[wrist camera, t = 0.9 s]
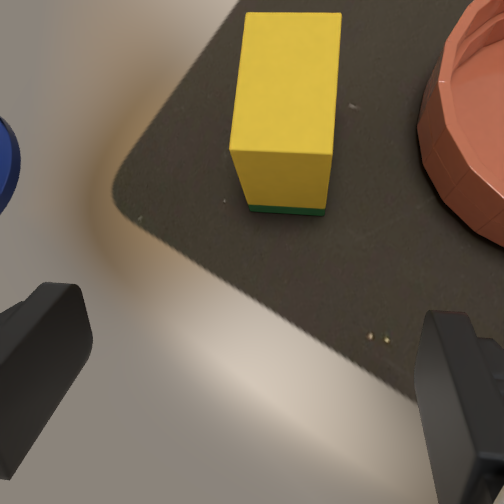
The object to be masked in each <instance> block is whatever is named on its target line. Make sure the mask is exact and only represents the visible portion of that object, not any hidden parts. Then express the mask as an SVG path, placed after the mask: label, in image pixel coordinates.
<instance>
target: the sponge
mask: <svg viewBox="0 0 504 504" xmlns="http://www.w3.org/2000/svg"><path fill="white" fill-rule="evenodd" d="M341 20H342V14H341V13H246V16H245V24H244V32H243V40H242V48H241V56H240V64H239V72H238V80H237V88H236V96H235V104H234V112H233V120H232V128H231V136H230V144H229V150H230V153H231V156H232V159H233V162H234V165H235V168H236V171H237V174H238V177H239V180H240V183H241V186H242V189H243V192H244V195H245V198H246V201H247V203H248V206H249V209H250V211H253V212H269V213H285V214H302V215H318V216H324V214H325V207H326V200H327V192H328V185H329V177H330V170H331V162H332V155H333V141H334V126H335V111H336V96H337V81H338V65H339V50H340V35H341Z"/></svg>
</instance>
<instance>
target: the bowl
mask: <svg viewBox="0 0 504 504" xmlns="http://www.w3.org/2000/svg"><path fill="white" fill-rule="evenodd" d="M417 131H418V137H419V143H420V149H421V155H422V161H423V165H424V167H425V169H426V171H427V173H428V175H429V177H430V178H431V180H432V182H433V184H434V186H435V188H436V189H437V191H438V193H439V195H440V197H441V199H442V200H443V202H444V203H445V204H446V205H447V206H448V207H449V208H450V209H452V210H453V211H454V212H455V213H456V214H457V215H458V216H459V217H460V218H461V219H462V220H463V221H464V222H465V223H466V224H467V225H468V226H469V227H470V228H471V229H472V230H473V231H474V232H476V233H477V234H479V235H481V236H483V237H485V238H487V239H489V240H491V241H493V242H495V243H497V244H499V245H500V246H502V247H504V0H474V1H473V2H472V3H471V4H469V6H468V7H467V8H466V10H465V11H464V13H463V14H462V16H461V17H460V19H459V21H458V22H457V24H456V25H455V27H454V29H453V30H452V32H451V33H450V35H449V37H448V38H447V40H446V42H445V44H444V47H443V49H442V51H441V53H440V56H439V58H438V60H437V63H436V65H435V67H434V70H433V72H432V74H431V77H430V79H429V81H428V83H427V86H426V88H425V91H424V94H423V99H422V104H421V109H420V114H419V119H418V124H417Z"/></svg>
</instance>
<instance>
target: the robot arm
mask: <svg viewBox="0 0 504 504" xmlns="http://www.w3.org/2000/svg"><path fill="white" fill-rule="evenodd" d="M92 343H93V336H92V331H91V327H90V323H89V319H88V315H87V311H86V307H85V303H84V299H83V295H82V291H81V289H80V288H79V286H78V285H76V284H66V283H52V282H45V283H42V284H41V285H39V286H38V287H37V289H36V290H35V291H34V292H33V293H32V294H31V295H30V296H29V297H28V298H27V299H26V300H25V301H21V302H19V303H17V304H15V305H14V306H13V307H10V308H9V309H7V310H5V311H4V312H2V313H0V479H4V480H10V479H11V478H12V476H13V474H14V473H15V472H16V470H17V468H18V467H19V465H20V464H21V462H22V461H23V459H24V457H25V456H26V454H27V453H28V451H29V450H30V448H31V447H32V445H33V443H34V442H35V441H36V439H37V437H38V436H39V434H40V433H41V431H42V430H43V428H44V427H45V425H46V424H47V422H48V420H49V419H50V417H51V416H52V414H53V413H54V411H55V410H56V408H57V406H58V405H59V403H60V402H61V400H62V399H63V397H64V396H65V394H66V393H67V391H68V390H69V388H70V386H71V385H72V383H73V382H74V380H75V379H76V377H77V375H78V374H79V373H80V371H81V369H82V368H83V366H84V365H85V363H86V361H87V360H88V358H89V356H90V353H91V349H92ZM414 384H415V392H416V397H417V402H418V407H419V411H420V416H421V421H422V426H423V431H424V435H425V440H426V445H427V450H428V455H429V459H430V464H431V469H432V473H433V479H434V483H435V488H436V493H437V498H438V503H439V504H504V349H503V348H502V347H501V346H500V345H499V344H498V343H497V342H496V341H494V340H493V339H492V338H479V337H477V336H476V333H475V331H474V328H473V326H472V324H471V321H470V319H469V317H468V315H467V314H466V313H465V312H451V311H437V310H428V311H427V313H426V316H425V319H424V324H423V329H422V334H421V338H420V343H419V348H418V352H417V357H416V362H415V370H414Z"/></svg>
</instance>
